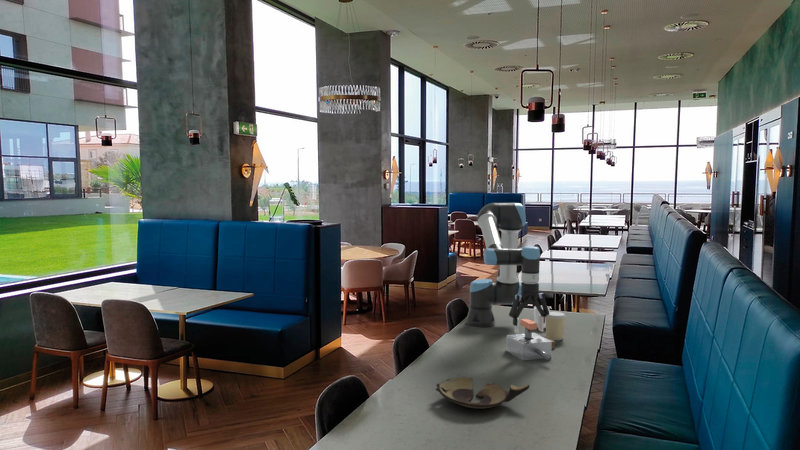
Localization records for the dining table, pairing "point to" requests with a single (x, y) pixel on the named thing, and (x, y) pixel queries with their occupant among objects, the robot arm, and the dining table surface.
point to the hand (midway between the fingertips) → (528, 331)
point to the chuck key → (528, 327)
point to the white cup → (536, 317)
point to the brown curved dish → (462, 393)
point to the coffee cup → (555, 325)
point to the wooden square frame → (552, 342)
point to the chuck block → (529, 347)
